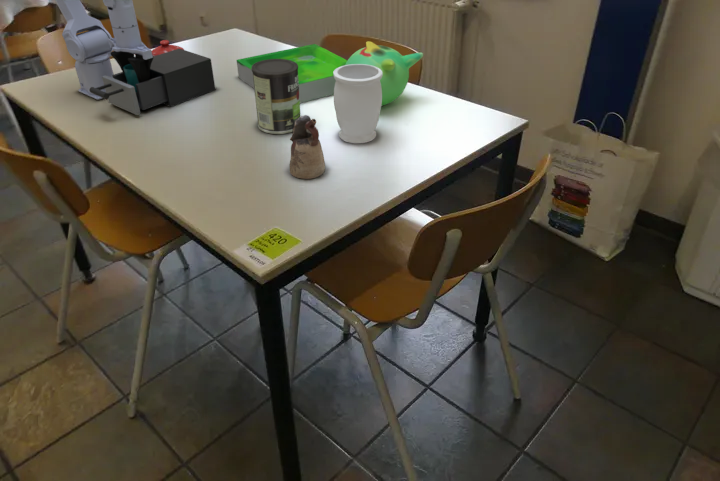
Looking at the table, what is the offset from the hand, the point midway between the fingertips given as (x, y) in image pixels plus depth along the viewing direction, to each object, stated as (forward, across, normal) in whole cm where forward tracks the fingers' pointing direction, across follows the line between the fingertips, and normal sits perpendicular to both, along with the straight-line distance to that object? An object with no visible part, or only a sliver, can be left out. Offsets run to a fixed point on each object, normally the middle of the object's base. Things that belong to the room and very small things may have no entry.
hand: (137, 82), depth 139 cm
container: (+2, 0, 0) cm, 2 cm away
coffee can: (+6, +35, +13) cm, 38 cm away
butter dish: (+6, -15, +19) cm, 25 cm away
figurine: (+6, +55, +1) cm, 55 cm away
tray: (+6, +20, +36) cm, 42 cm away
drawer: (+5, 0, -2) cm, 5 cm away
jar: (+6, +53, +20) cm, 57 cm away
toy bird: (+6, +45, +38) cm, 59 cm away
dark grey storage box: (+6, 0, +11) cm, 12 cm away
